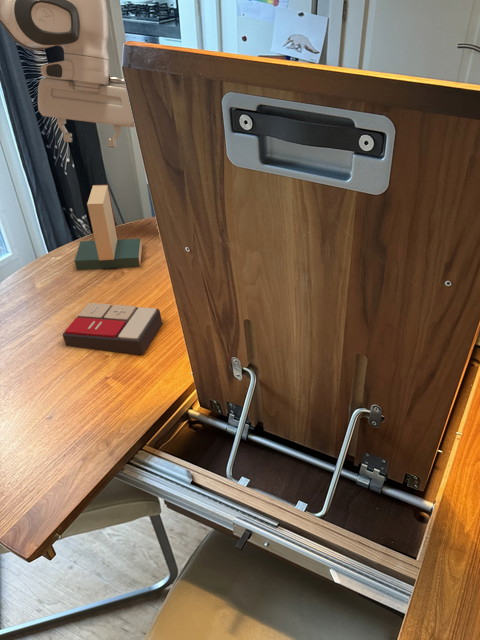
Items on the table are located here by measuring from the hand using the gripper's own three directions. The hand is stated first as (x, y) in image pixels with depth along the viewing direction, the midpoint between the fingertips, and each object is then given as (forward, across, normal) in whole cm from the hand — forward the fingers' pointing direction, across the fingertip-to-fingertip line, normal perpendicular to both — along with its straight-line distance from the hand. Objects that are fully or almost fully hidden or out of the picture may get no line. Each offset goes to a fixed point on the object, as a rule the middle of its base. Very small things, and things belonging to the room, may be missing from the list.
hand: (90, 144), depth 115 cm
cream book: (+22, -4, +5) cm, 23 cm away
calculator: (+31, -10, +35) cm, 48 cm away
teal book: (+25, -4, +5) cm, 25 cm away
